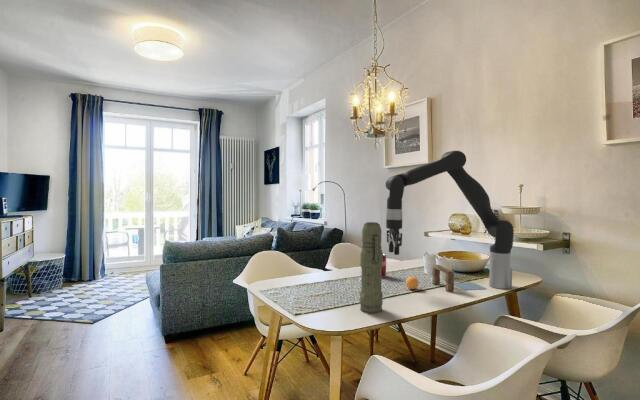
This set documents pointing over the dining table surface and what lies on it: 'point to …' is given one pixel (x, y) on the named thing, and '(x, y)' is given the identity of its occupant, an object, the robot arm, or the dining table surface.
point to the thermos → (371, 269)
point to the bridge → (448, 277)
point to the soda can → (383, 270)
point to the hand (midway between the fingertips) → (393, 253)
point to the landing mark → (469, 286)
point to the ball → (412, 283)
